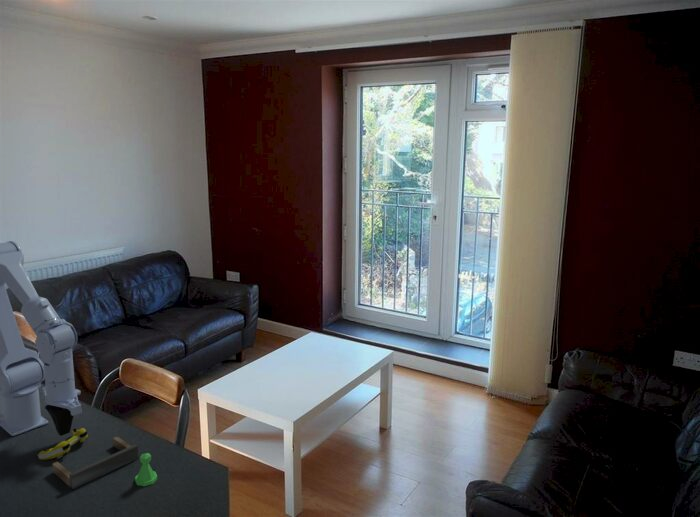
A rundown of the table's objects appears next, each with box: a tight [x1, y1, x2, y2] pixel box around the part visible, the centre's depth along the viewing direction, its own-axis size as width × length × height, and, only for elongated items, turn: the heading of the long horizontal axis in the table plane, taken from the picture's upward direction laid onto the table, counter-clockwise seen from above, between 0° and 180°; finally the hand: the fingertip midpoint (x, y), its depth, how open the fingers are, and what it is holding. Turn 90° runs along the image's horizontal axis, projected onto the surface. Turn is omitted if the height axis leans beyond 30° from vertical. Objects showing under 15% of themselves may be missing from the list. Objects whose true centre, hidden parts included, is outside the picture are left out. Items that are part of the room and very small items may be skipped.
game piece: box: [134, 452, 158, 487], centre depth 107 cm, size 4×4×6 cm
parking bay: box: [52, 436, 139, 490], centre depth 111 cm, size 8×14×3 cm, turn 142°
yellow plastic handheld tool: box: [37, 427, 89, 461], centre depth 117 cm, size 10×6×4 cm, turn 166°
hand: (64, 433), depth 120 cm, fingers closed
